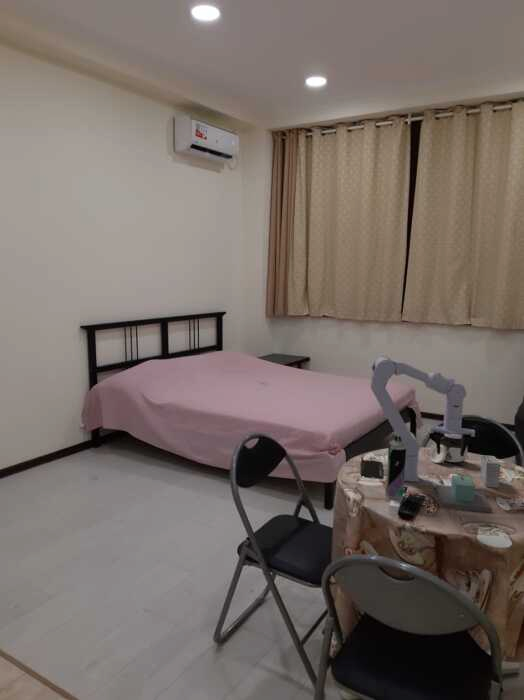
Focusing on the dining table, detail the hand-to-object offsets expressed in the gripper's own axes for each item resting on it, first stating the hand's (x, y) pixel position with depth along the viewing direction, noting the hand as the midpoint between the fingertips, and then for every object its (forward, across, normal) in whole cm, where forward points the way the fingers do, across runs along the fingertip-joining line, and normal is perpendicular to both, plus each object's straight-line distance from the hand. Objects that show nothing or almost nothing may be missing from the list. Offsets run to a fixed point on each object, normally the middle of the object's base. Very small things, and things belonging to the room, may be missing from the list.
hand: (450, 454), depth 175 cm
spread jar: (+10, +2, +19) cm, 21 cm away
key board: (+9, +2, -16) cm, 19 cm away
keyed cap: (+8, +2, -16) cm, 18 cm away
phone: (+10, -26, +2) cm, 28 cm away
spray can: (+10, -19, -18) cm, 28 cm away
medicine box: (+10, +14, +1) cm, 17 cm away
